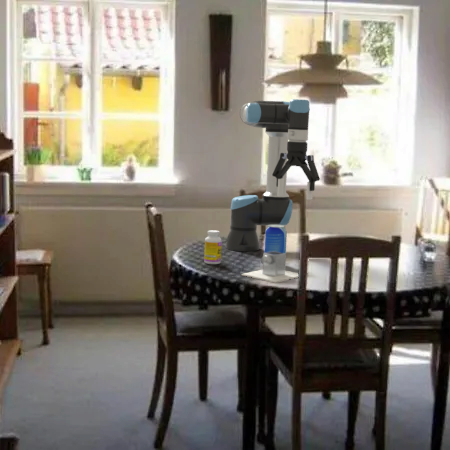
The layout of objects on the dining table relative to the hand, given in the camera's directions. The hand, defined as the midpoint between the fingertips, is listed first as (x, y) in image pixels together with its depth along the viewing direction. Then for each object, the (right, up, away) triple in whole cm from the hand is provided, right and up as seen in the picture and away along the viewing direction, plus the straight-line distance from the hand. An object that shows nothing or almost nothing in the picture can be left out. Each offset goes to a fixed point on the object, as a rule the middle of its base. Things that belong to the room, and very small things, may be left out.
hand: (294, 197), depth 299 cm
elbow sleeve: (-9, -29, -5) cm, 31 cm away
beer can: (-7, -27, +16) cm, 32 cm away
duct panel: (-8, -29, -4) cm, 31 cm away
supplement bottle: (-31, -26, +16) cm, 43 cm away
